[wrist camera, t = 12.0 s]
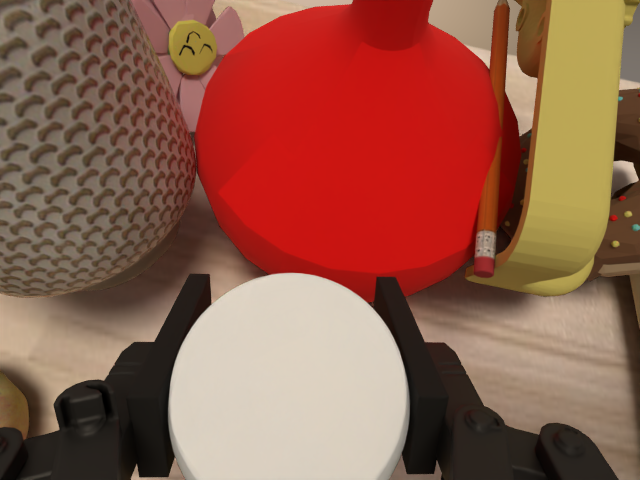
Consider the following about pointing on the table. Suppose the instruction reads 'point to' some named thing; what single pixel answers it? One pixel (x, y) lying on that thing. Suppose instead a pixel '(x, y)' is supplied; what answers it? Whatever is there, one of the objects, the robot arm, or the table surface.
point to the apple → (13, 407)
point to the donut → (625, 212)
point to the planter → (85, 148)
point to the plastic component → (565, 142)
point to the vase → (354, 145)
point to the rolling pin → (637, 280)
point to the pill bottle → (288, 386)
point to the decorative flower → (189, 45)
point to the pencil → (490, 191)
